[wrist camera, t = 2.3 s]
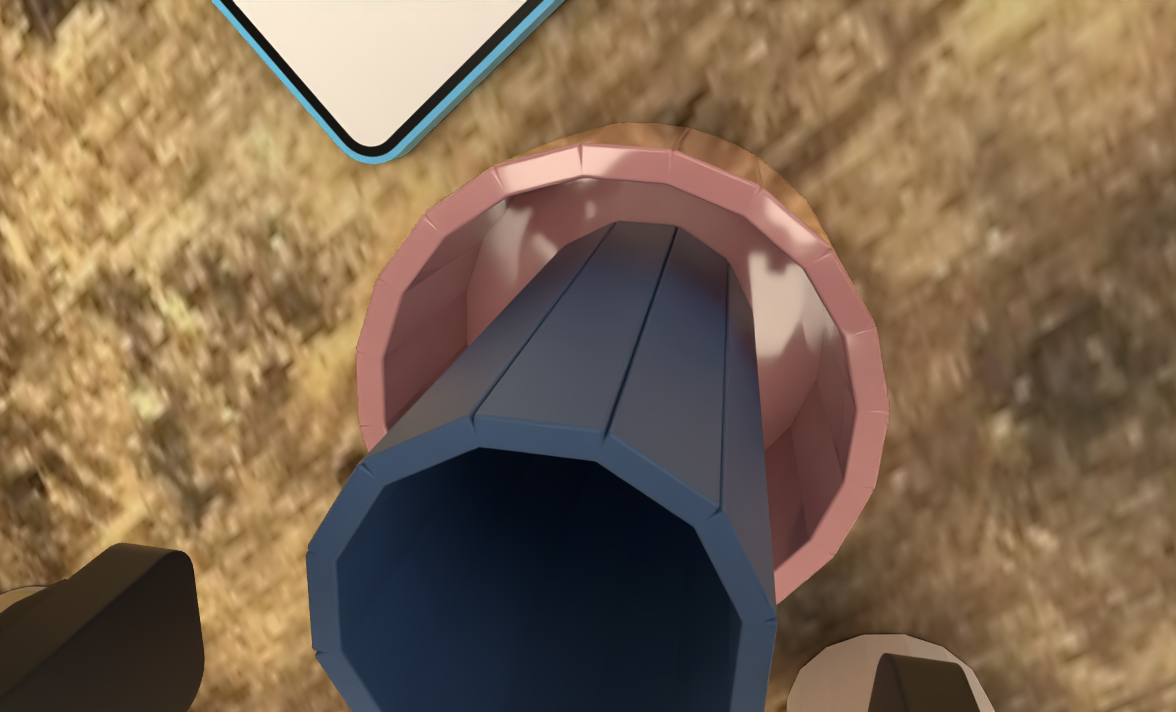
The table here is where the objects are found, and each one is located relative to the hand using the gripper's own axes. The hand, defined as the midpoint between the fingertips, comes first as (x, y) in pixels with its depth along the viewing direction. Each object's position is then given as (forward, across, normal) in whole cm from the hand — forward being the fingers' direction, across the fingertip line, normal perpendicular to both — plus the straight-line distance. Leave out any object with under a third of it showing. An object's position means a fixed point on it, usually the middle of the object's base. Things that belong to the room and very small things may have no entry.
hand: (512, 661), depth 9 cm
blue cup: (+12, 0, 0) cm, 12 cm away
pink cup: (+13, 0, 0) cm, 13 cm away
